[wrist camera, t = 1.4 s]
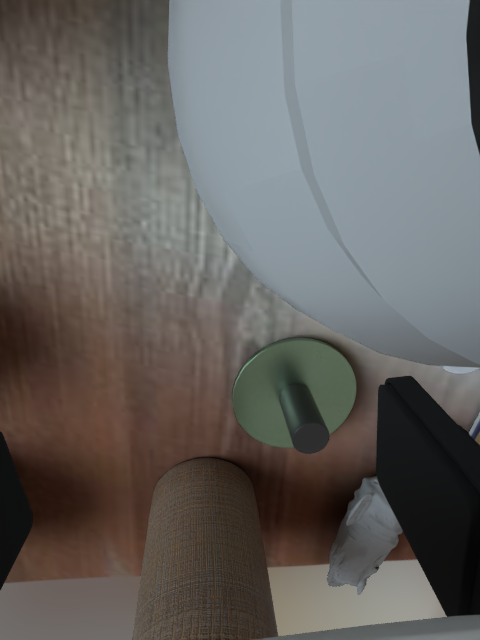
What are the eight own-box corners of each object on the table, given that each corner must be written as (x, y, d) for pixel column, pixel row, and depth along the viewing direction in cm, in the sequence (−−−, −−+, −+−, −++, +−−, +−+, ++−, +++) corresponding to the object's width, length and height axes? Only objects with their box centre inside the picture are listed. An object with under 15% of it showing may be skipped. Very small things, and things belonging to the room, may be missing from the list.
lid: (205, 396, 35) (206, 447, 29) (294, 309, 33) (315, 345, 27) (290, 458, 39) (307, 515, 33) (376, 383, 37) (411, 430, 30)
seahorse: (449, 426, 44) (338, 563, 46) (402, 399, 37) (274, 564, 39) (494, 460, 40) (370, 608, 42) (452, 437, 33) (306, 618, 35)
